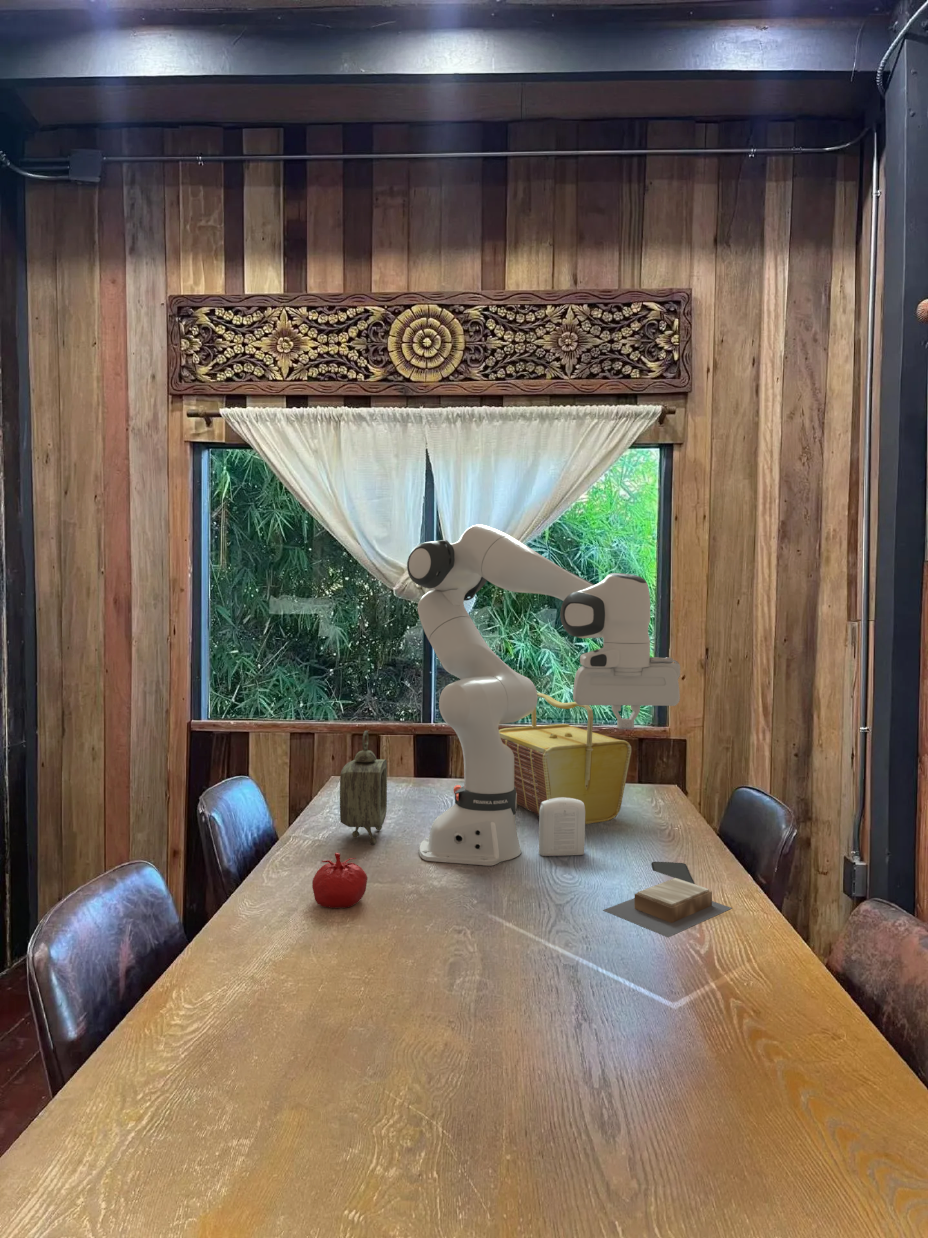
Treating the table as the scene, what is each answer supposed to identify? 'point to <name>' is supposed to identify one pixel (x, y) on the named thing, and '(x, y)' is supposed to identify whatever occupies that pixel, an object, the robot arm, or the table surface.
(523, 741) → the picnic basket
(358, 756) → the tabletop clock
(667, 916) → the wooden block
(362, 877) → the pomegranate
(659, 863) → the smartphone
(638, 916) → the mat
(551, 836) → the photo printer
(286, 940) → the table surface
